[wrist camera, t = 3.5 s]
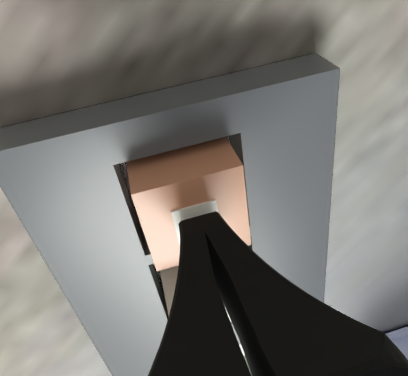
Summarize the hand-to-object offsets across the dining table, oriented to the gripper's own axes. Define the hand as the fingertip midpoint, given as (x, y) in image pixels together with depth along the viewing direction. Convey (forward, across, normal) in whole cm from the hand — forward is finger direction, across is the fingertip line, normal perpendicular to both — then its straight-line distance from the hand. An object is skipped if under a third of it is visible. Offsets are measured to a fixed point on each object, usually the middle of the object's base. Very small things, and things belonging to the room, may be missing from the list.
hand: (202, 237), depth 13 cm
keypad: (+4, 0, +5) cm, 6 cm away
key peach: (+4, 0, 0) cm, 4 cm away
